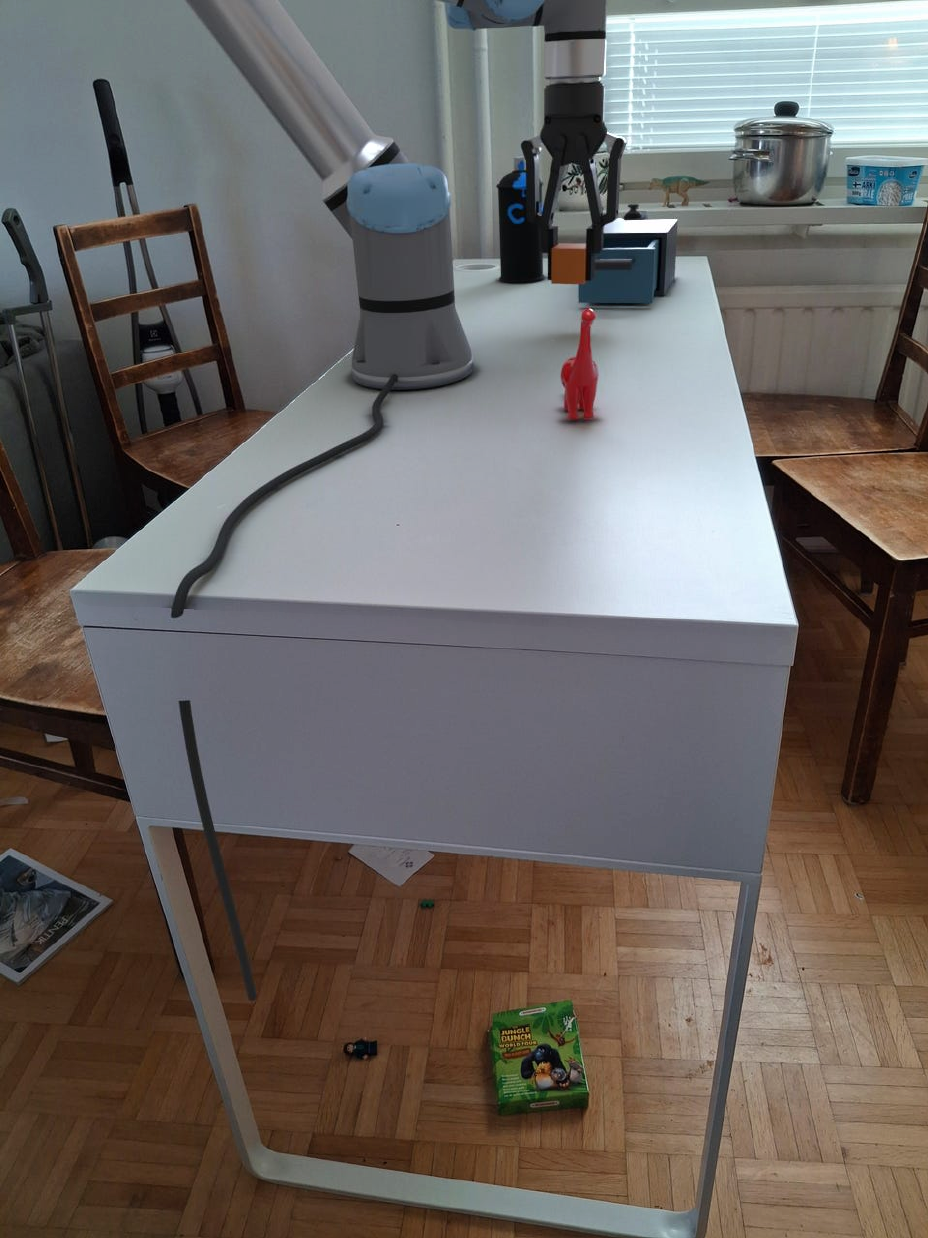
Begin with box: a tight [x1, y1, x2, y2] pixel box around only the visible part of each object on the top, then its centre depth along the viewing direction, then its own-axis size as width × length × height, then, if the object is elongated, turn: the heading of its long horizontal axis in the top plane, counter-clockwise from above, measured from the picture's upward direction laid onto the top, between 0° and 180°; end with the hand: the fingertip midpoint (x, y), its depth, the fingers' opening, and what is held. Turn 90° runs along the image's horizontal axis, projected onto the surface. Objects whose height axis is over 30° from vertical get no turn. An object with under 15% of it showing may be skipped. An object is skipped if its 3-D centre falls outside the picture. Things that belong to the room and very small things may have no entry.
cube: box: [550, 242, 587, 285], centre depth 126 cm, size 4×4×4 cm
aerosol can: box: [495, 156, 545, 284], centre depth 165 cm, size 8×8×20 cm
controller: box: [621, 203, 649, 220], centre depth 181 cm, size 4×12×10 cm, turn 165°
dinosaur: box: [560, 308, 599, 421], centre depth 96 cm, size 4×15×12 cm, turn 1°
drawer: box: [577, 238, 661, 304], centre depth 145 cm, size 18×11×8 cm, turn 163°
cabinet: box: [603, 218, 679, 297], centre depth 156 cm, size 15×13×10 cm
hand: (571, 278), depth 127 cm, fingers closed on cube, 4 cm apart
